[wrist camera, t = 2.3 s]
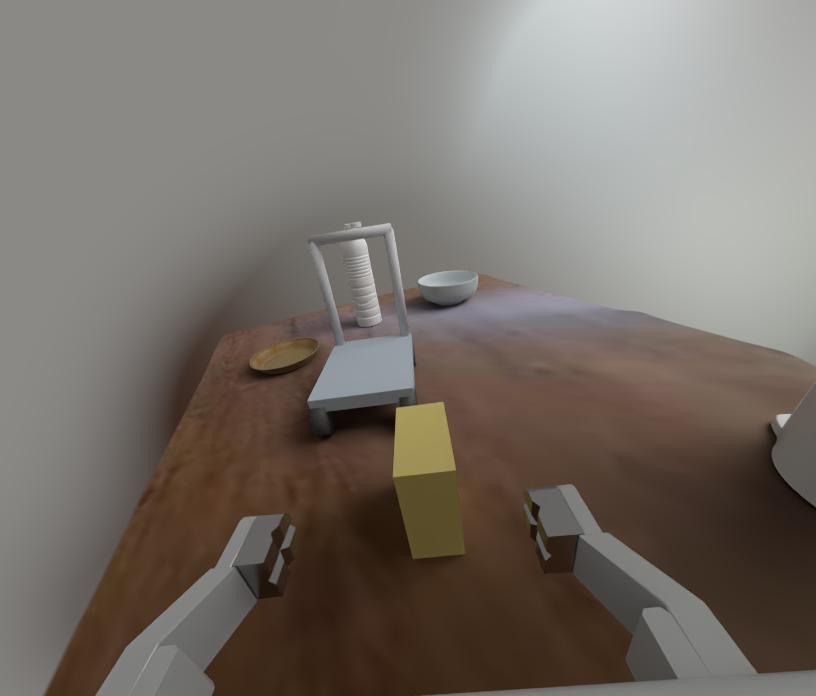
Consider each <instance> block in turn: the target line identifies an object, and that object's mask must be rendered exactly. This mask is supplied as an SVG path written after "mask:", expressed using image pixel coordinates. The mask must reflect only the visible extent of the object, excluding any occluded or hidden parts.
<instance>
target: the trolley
mask: <svg viewBox="0 0 816 696" xmlns="http://www.w3.org/2000/svg"><path fill="white" fill-rule="evenodd" d="M383 235H384V238H385V244H386V250H387V256H388V262H389V268H390V274H391V279H392V285H393V291H394V297H395V302H396V308H397V314H398V320H399V326H400V331H401V334H400V335H392V336H385V337H378V338H371V339H364V340H356V341H349V342H345V340H344V336H343V333H342V329H341V325H340V321H339V317H338V314H337V310H336V306H335V302H334V299H333V295H332V292H331V287H330V284H329V280H328V277H327V272H326V268H325V265H324V261H323V257H322V253H321V250H320V246H321V245H326V244H333V243H339V242H346V241H352V240H358V239H364V238H371V237H377V236H383ZM308 245H309V248H310V252H311V255H312V259H313V262H314V266H315V270H316V273H317V277H318V280H319V284H320V288H321V291H322V294H323V298H324V302H325V305H326V309H327V313H328V316H329V320H330V323H331V327H332V330H333V334H334V338H335V341H336V345H335V347H334V349H333V351H332V353H331V355H330V357H329V359H328V361H327V363H326V365H325V367H324V369H323V371H322V373H321V375H320V377H319V379H318V381H317V383H316V385H315V387H314V389H313V391H312V393H311V395H310V397H309V399H308V401H307V403H308V405H309V408H310V411H309V421H310V427H311V430H312V432H313V434H314V435H315V436H324V435H332V434H333V433H334V432H335V429H336V421H337V417H336V410H344V409H352V408H360V407H368V406H376V405H384V404H392V403H400V407H407V406H415V405H417V398H416V392H415V385H414V366H416V363H415V354H414V347H413V341H412V336H411V333H410V332H409V325H408V319H407V313H406V306H405V300H404V294H403V287H402V281H401V276H400V268H399V262H398V256H397V249H396V244H395V237H394V231H393V228H391V224H390V223H388V224H382V225H376V226H369V227H363V228H357V229H351V230H345V231H338V232H332V233H326V234H320V235H314V236H308Z"/></svg>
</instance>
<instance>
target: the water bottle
mask: <svg viewBox="0 0 816 696" xmlns="http://www.w3.org/2000/svg"><path fill="white" fill-rule="evenodd" d="M356 227H361V222H356V223H351V224H345V225H344V230H351V229H355V228H356ZM340 251H341V254H342V257H343V261H344V262H343V263H344V267H345V271H346V274H347V279H348V284H349V287H350V293H351V295H352V300H353V305H354V308H355V314H356V316H357V317H356V318H357V322H358V325H359V326H360V327H370V326H375V325H377V324H379V323H380V322H381V321H382V318H381V313H380V308H379V305H378V299H377V293H376V291H375V290H376V289H375V284H374V278H373V274H372V270H371V269H372V268H371V264H370V260H369V259H370V258H369V254H368V248H367V244H366V242H365V240H364V239H358V240H352V241H346V242H341V244H340Z"/></svg>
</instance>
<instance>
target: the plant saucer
mask: <svg viewBox="0 0 816 696" xmlns="http://www.w3.org/2000/svg"><path fill="white" fill-rule="evenodd" d="M319 345H320V344H319V341H318V340H317V339H314V338H310V337H301V338H293V339H289V340H285V341H281V342H278V343H276V344H273V345H271V346H268V347H266V348H264V349H263V350H261V351H259V352H258V353H256V354H255V355H254V356H253V357H252V358H251V360H250V362H249V364H250V366H251V367H252V368H253V369H255V370H257V371H260V372H263V373H266V374H282V373H287V372H290V371H293V370H296V369H298V368H300V367H302V366H304V365H305V364H307V363H308V362H310V361H311V360H312V358H313V357H314V355H315V354H316V352H317V350H318V348H319Z"/></svg>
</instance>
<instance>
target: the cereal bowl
mask: <svg viewBox="0 0 816 696" xmlns="http://www.w3.org/2000/svg"><path fill="white" fill-rule="evenodd" d="M477 285H478V275H477V274H476V273H474V272H471V271H445V272H438V273H433V274H429V275H427V276H424V277H422V278H421V279H419V280H418V287H419V291H420V294H421V295H422V296H423V297H424V298H425V299H426V300H428V301H430V302H434V303H436V304H438V305H454V304H458V303H460V302H462V300H464V299H467V298H468V297H470V296H471V295H472V294H473V293H474V292H475V290H476V288H477Z"/></svg>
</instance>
